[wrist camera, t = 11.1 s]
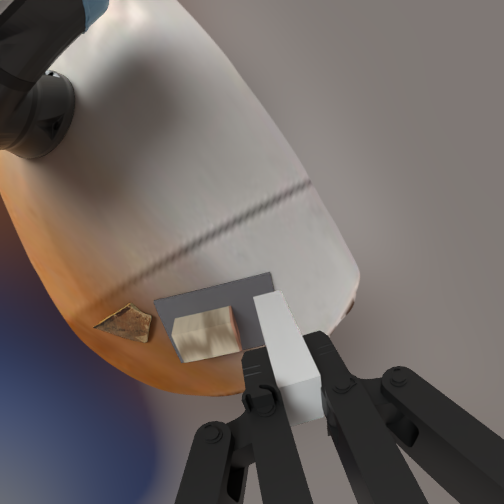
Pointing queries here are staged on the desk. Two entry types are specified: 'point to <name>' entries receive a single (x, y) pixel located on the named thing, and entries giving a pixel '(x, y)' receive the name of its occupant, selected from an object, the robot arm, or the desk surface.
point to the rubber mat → (221, 306)
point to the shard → (127, 324)
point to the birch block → (206, 334)
